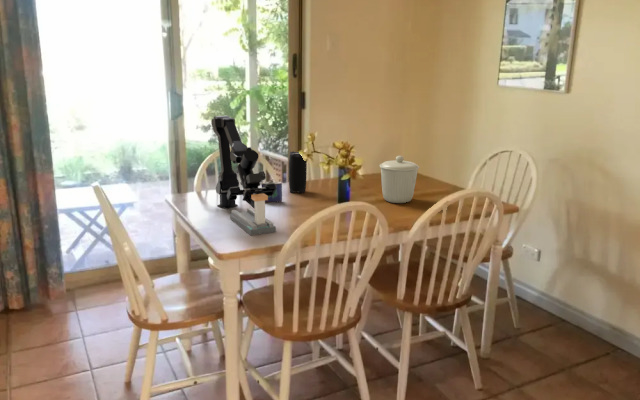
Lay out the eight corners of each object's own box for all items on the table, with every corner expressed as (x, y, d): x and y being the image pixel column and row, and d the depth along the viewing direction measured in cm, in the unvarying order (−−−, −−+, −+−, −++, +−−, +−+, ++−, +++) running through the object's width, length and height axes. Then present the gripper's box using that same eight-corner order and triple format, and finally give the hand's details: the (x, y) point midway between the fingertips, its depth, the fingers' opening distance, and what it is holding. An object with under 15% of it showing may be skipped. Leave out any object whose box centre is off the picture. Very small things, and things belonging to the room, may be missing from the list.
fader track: (229, 218, 220) (229, 210, 219) (252, 215, 225) (252, 207, 224) (250, 235, 200) (250, 226, 199) (275, 231, 204) (275, 223, 203)
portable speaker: (306, 189, 269) (306, 150, 264) (306, 194, 260) (306, 154, 255) (289, 189, 269) (289, 150, 264) (288, 194, 260) (288, 154, 255)
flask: (282, 201, 248) (281, 178, 245) (282, 202, 245) (282, 179, 242) (261, 201, 247) (261, 178, 244) (261, 203, 244) (261, 179, 241)
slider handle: (251, 224, 205) (250, 194, 202) (263, 222, 208) (263, 193, 205) (256, 228, 201) (255, 197, 198) (268, 226, 203) (268, 196, 200)
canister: (416, 207, 241) (419, 160, 235) (376, 204, 244) (377, 158, 239) (417, 197, 258) (420, 153, 252) (379, 194, 261) (381, 151, 256)
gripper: (228, 166, 201) (239, 202, 194) (274, 162, 209) (286, 196, 202) (222, 182, 209) (232, 217, 203) (267, 178, 218) (278, 211, 211)
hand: (257, 210), depth 205 cm, fingers closed
